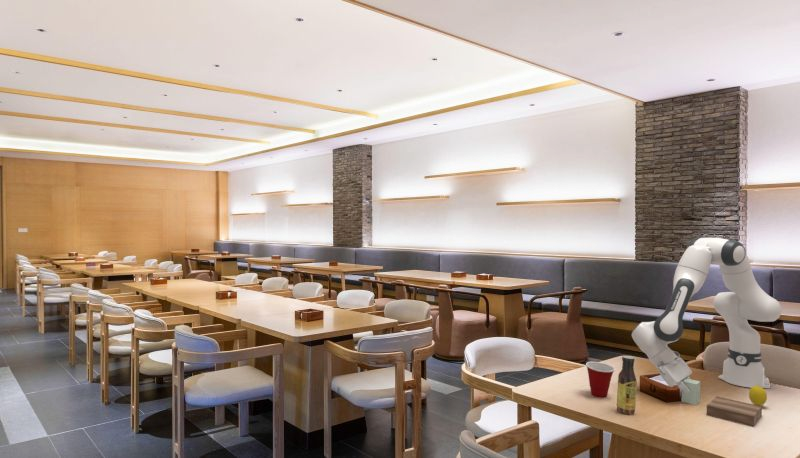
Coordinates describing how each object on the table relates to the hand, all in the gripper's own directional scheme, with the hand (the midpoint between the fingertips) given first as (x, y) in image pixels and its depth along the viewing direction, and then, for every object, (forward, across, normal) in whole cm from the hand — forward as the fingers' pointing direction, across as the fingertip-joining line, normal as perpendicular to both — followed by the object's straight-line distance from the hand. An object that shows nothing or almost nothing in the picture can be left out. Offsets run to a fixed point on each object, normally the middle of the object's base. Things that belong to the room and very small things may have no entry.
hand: (691, 390), depth 194 cm
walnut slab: (+14, -4, -7) cm, 16 cm away
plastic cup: (-16, -20, +22) cm, 34 cm away
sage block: (+3, 0, +3) cm, 4 cm away
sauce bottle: (-6, -30, +12) cm, 33 cm away
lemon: (+17, +14, -10) cm, 24 cm away
